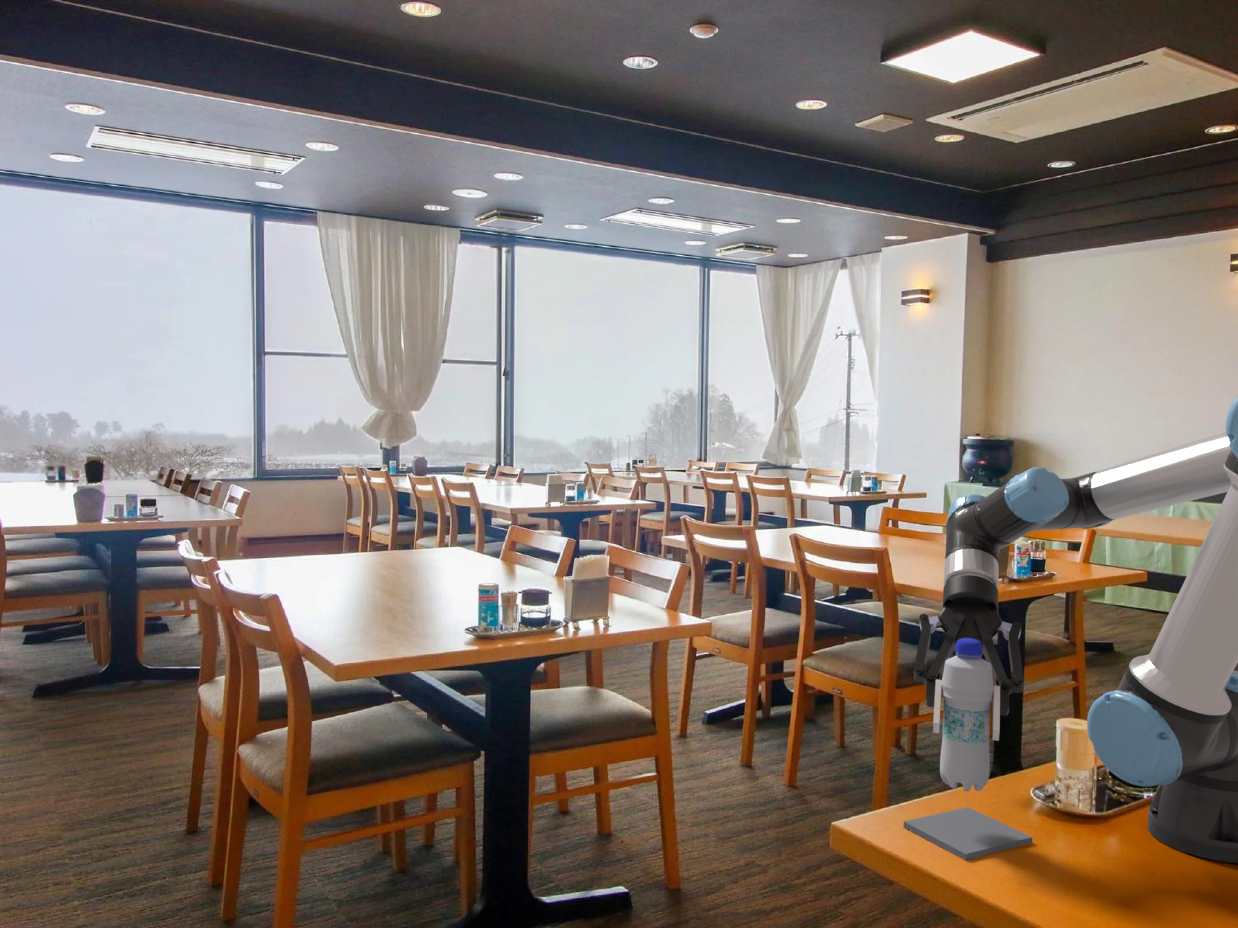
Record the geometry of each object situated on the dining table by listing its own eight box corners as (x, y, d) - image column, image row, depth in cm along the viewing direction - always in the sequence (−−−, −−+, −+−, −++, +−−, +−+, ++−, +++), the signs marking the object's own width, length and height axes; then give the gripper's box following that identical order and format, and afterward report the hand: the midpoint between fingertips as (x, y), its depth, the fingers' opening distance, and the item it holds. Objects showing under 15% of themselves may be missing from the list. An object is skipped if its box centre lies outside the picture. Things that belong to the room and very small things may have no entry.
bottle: (994, 797, 126) (1000, 645, 125) (941, 792, 127) (946, 642, 127) (986, 778, 133) (991, 634, 132) (934, 774, 134) (939, 631, 133)
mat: (1032, 842, 127) (1032, 836, 127) (965, 860, 122) (965, 853, 122) (967, 812, 137) (967, 806, 137) (903, 826, 132) (903, 821, 132)
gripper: (1042, 608, 140) (1045, 755, 126) (901, 597, 147) (889, 735, 132) (1046, 577, 135) (1050, 726, 120) (900, 567, 142) (887, 708, 127)
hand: (965, 731), depth 126 cm, fingers closed on bottle, 7 cm apart
